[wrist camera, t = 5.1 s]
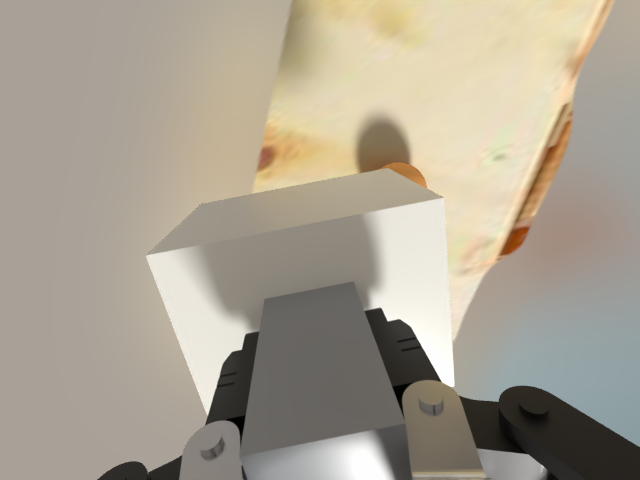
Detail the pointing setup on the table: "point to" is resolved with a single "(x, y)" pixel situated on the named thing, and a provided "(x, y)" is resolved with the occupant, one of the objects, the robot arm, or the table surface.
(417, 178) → the ball
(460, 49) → the table surface
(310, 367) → the white block
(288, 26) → the table surface
